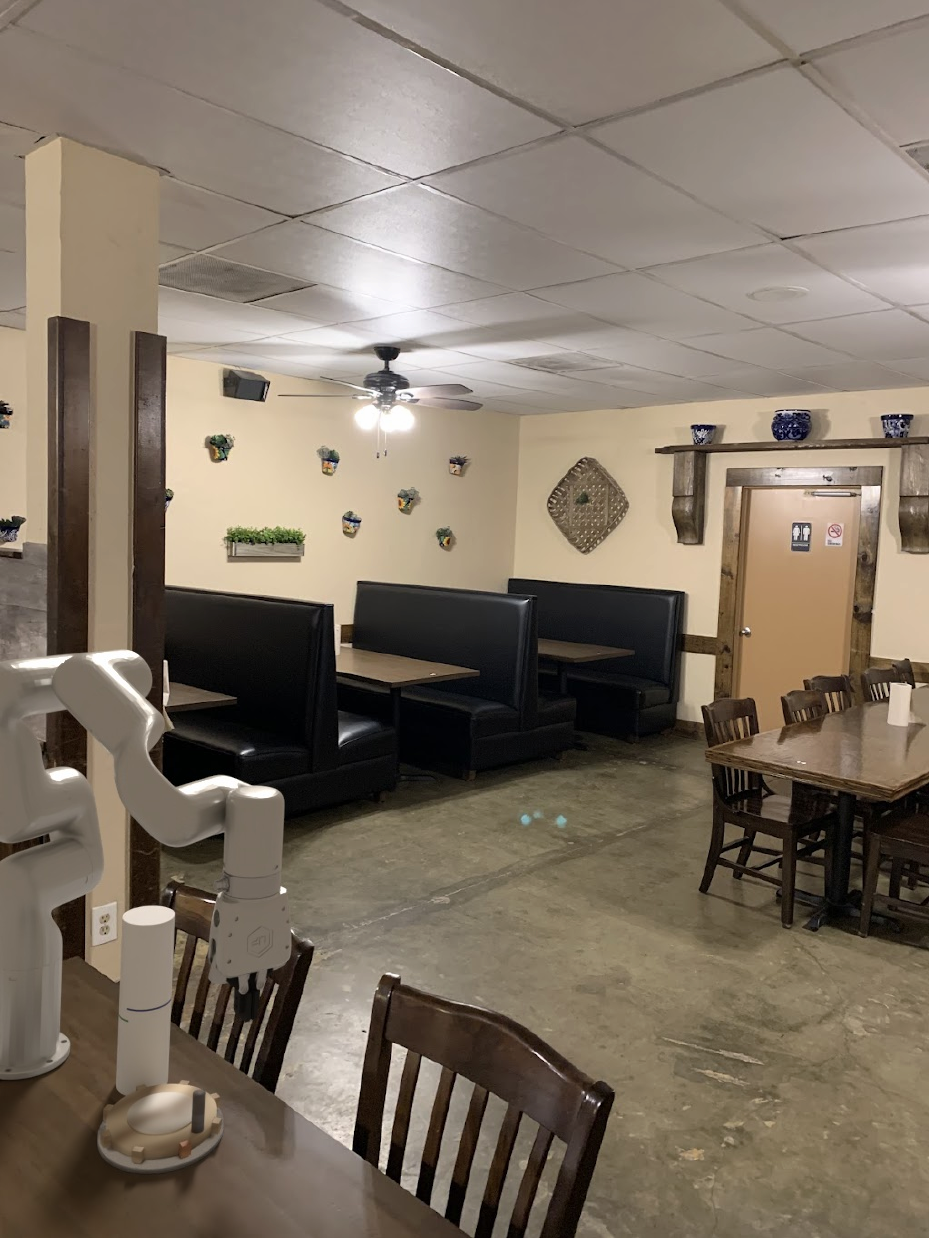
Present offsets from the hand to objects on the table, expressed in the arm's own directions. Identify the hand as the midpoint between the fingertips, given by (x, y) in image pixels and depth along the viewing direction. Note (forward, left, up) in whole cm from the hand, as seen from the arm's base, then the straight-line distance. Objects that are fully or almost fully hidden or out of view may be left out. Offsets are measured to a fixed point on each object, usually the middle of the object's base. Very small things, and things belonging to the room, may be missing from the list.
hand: (246, 1016), depth 125 cm
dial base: (-9, -6, -17) cm, 19 cm away
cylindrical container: (-20, +1, -17) cm, 26 cm away
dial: (-9, -6, -15) cm, 18 cm away
